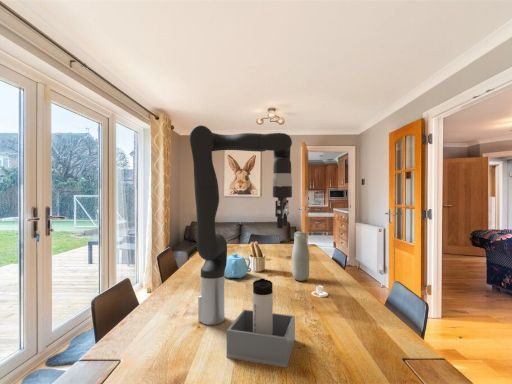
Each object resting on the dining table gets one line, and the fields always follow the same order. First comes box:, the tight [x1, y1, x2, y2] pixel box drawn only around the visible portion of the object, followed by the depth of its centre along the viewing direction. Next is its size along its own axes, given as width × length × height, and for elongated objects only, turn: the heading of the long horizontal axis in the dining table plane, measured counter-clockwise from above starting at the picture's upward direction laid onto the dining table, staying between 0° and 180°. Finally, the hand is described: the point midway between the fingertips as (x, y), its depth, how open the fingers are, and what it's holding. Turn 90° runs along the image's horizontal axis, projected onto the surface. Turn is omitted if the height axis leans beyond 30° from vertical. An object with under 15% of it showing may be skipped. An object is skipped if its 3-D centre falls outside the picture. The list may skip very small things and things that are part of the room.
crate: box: [226, 309, 296, 368], centre depth 89 cm, size 18×16×8 cm
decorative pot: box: [225, 253, 252, 279], centre depth 170 cm, size 16×16×14 cm
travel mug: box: [252, 277, 274, 336], centre depth 90 cm, size 6×7×20 cm
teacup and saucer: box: [311, 285, 329, 298], centre depth 138 cm, size 9×8×4 cm
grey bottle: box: [291, 230, 310, 282], centre depth 162 cm, size 10×10×28 cm
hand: (282, 226), depth 110 cm, fingers open, 8 cm apart
